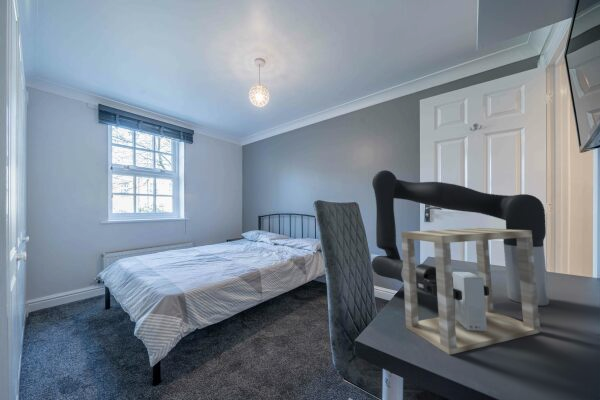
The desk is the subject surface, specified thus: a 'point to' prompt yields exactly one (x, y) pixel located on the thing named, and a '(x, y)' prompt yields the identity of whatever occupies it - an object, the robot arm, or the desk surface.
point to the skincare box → (470, 301)
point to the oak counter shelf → (493, 318)
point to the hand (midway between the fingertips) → (474, 293)
